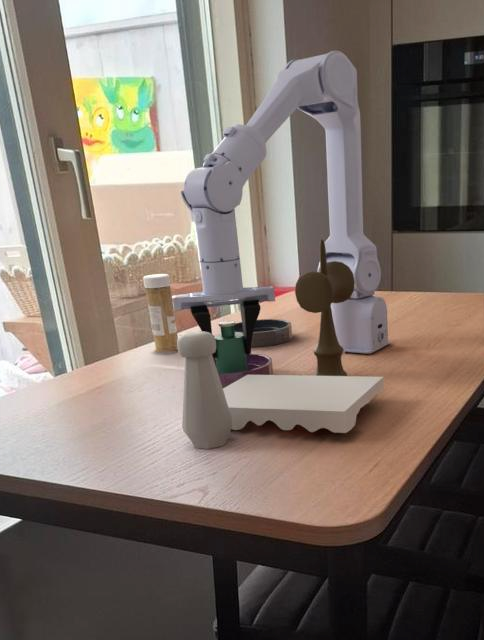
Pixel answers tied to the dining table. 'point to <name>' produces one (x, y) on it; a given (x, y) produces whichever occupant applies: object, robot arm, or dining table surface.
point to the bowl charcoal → (268, 332)
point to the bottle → (230, 349)
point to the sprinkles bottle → (161, 312)
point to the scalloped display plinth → (300, 400)
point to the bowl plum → (255, 365)
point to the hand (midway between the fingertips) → (230, 354)
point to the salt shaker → (203, 392)
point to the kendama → (326, 308)
